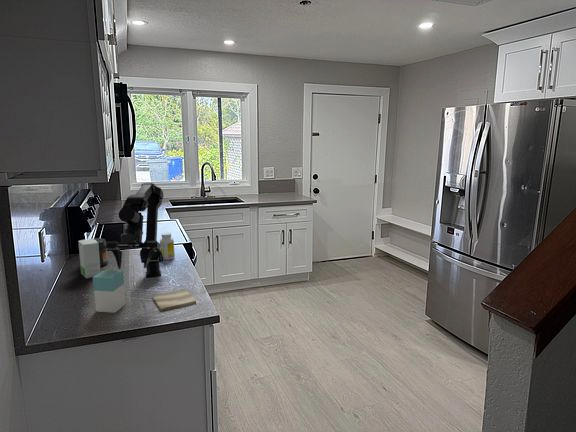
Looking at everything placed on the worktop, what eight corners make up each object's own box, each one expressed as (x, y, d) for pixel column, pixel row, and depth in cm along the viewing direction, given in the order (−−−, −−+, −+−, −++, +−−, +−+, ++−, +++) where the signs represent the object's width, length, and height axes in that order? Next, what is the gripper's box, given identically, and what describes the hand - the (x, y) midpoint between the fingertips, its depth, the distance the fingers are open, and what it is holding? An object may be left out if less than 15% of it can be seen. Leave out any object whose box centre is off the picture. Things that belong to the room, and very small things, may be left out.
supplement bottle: (176, 256, 201) (174, 232, 198) (172, 260, 194) (171, 235, 192) (163, 256, 200) (161, 232, 198) (159, 260, 194) (157, 235, 191)
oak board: (152, 298, 150) (152, 295, 149) (185, 291, 156) (185, 289, 156) (161, 311, 139) (160, 308, 139) (196, 303, 145) (196, 300, 145)
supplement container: (112, 261, 192) (110, 237, 190) (102, 268, 182) (99, 243, 180) (91, 260, 193) (88, 237, 190) (80, 268, 182) (77, 243, 180)
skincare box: (81, 273, 175) (77, 240, 172) (96, 270, 179) (93, 237, 176) (86, 278, 169) (82, 244, 166) (102, 275, 173) (98, 241, 170)
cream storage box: (107, 302, 145) (105, 282, 144) (125, 303, 145) (124, 283, 143) (96, 311, 138) (94, 290, 137) (115, 312, 138) (113, 291, 136)
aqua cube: (106, 286, 144) (104, 270, 143) (124, 287, 143) (122, 271, 142) (94, 294, 137) (92, 277, 136) (113, 295, 136) (111, 278, 135)
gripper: (101, 223, 140) (97, 266, 136) (154, 222, 142) (151, 265, 138) (112, 229, 151) (109, 270, 147) (161, 229, 152) (159, 268, 149)
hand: (132, 268), depth 145 cm, fingers open, 9 cm apart
